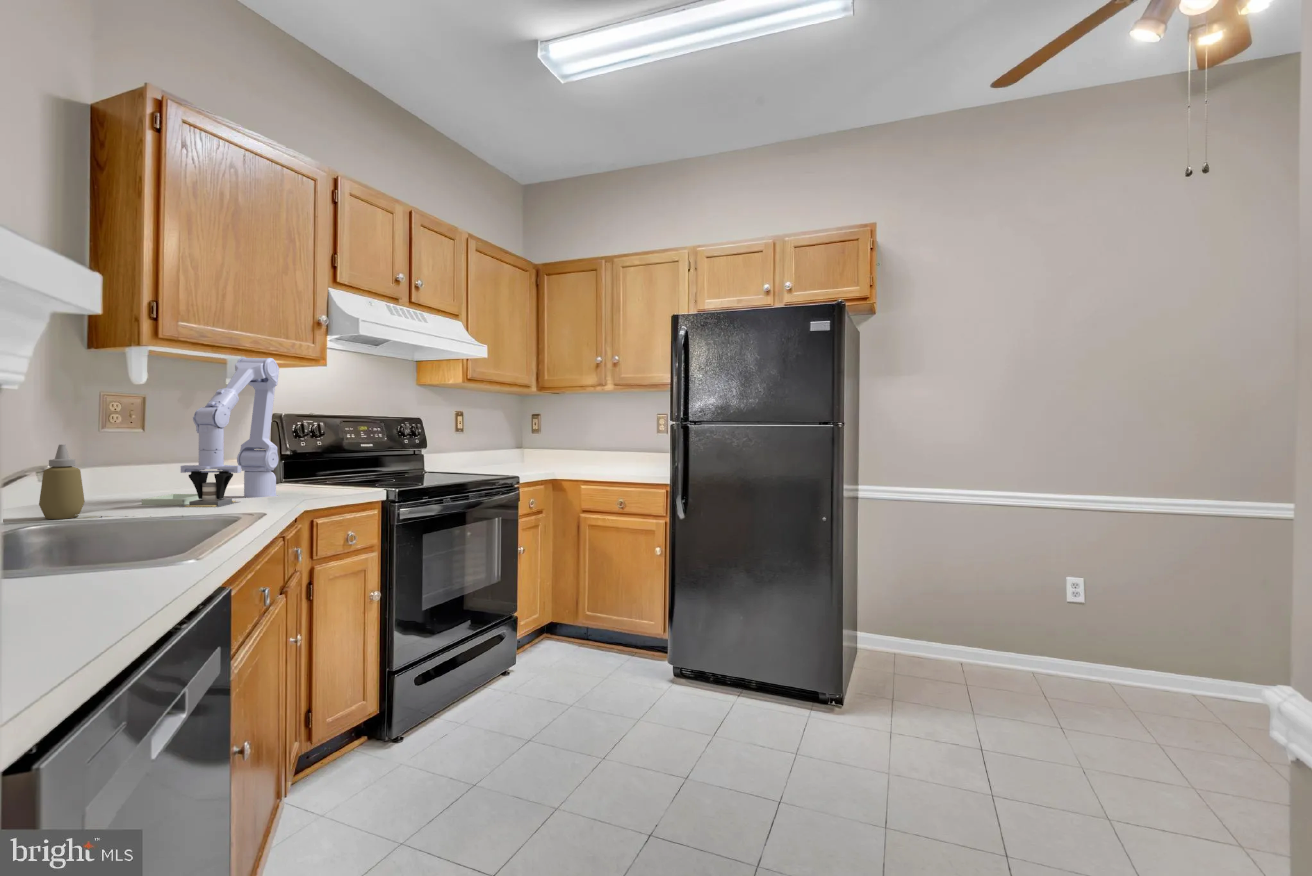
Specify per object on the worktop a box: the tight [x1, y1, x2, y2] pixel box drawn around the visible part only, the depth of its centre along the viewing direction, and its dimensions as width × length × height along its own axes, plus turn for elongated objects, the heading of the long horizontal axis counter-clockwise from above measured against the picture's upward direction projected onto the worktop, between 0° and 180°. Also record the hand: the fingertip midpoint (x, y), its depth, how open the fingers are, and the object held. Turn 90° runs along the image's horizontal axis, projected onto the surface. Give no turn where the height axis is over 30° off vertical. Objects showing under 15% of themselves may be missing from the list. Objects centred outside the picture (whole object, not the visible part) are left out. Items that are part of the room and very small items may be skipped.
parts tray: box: [141, 493, 199, 506], centre depth 176 cm, size 13×10×2 cm
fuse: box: [202, 481, 220, 501], centre depth 172 cm, size 4×4×6 cm
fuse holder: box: [180, 497, 240, 508], centre depth 172 cm, size 12×10×2 cm
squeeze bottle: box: [38, 444, 85, 520], centre depth 151 cm, size 8×8×18 cm
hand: (211, 498), depth 172 cm, fingers closed on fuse, 4 cm apart
